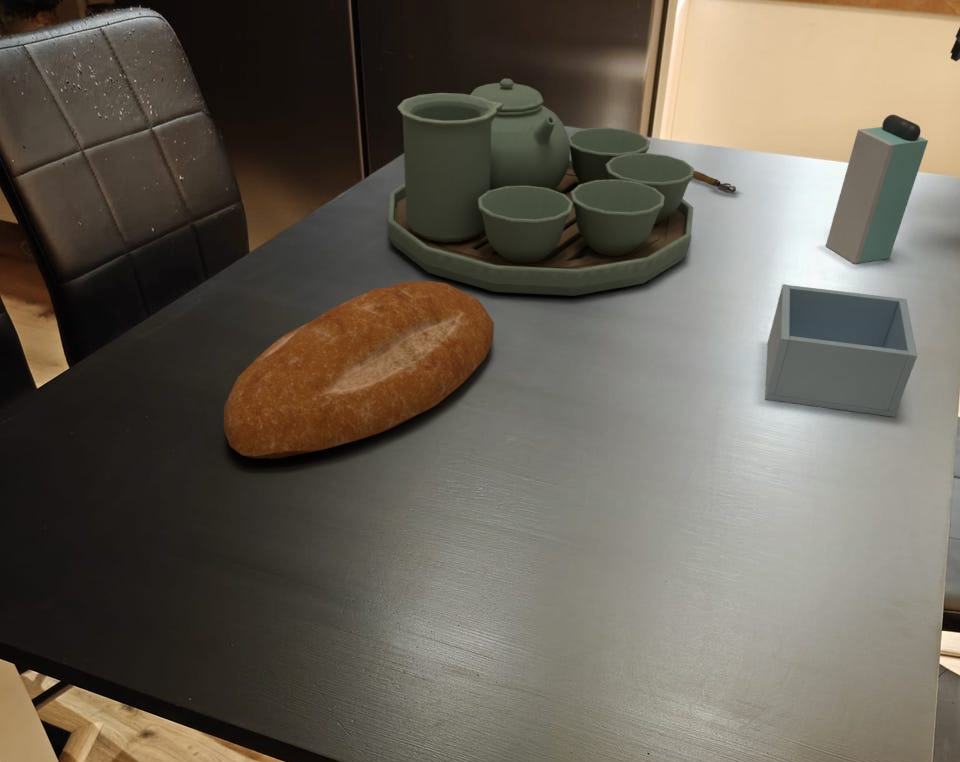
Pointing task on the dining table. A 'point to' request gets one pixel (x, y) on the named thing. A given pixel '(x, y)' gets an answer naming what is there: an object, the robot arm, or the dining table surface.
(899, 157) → the knobbed tall block
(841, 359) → the basket
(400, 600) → the dining table surface
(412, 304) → the bread
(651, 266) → the tea set
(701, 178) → the can opener
